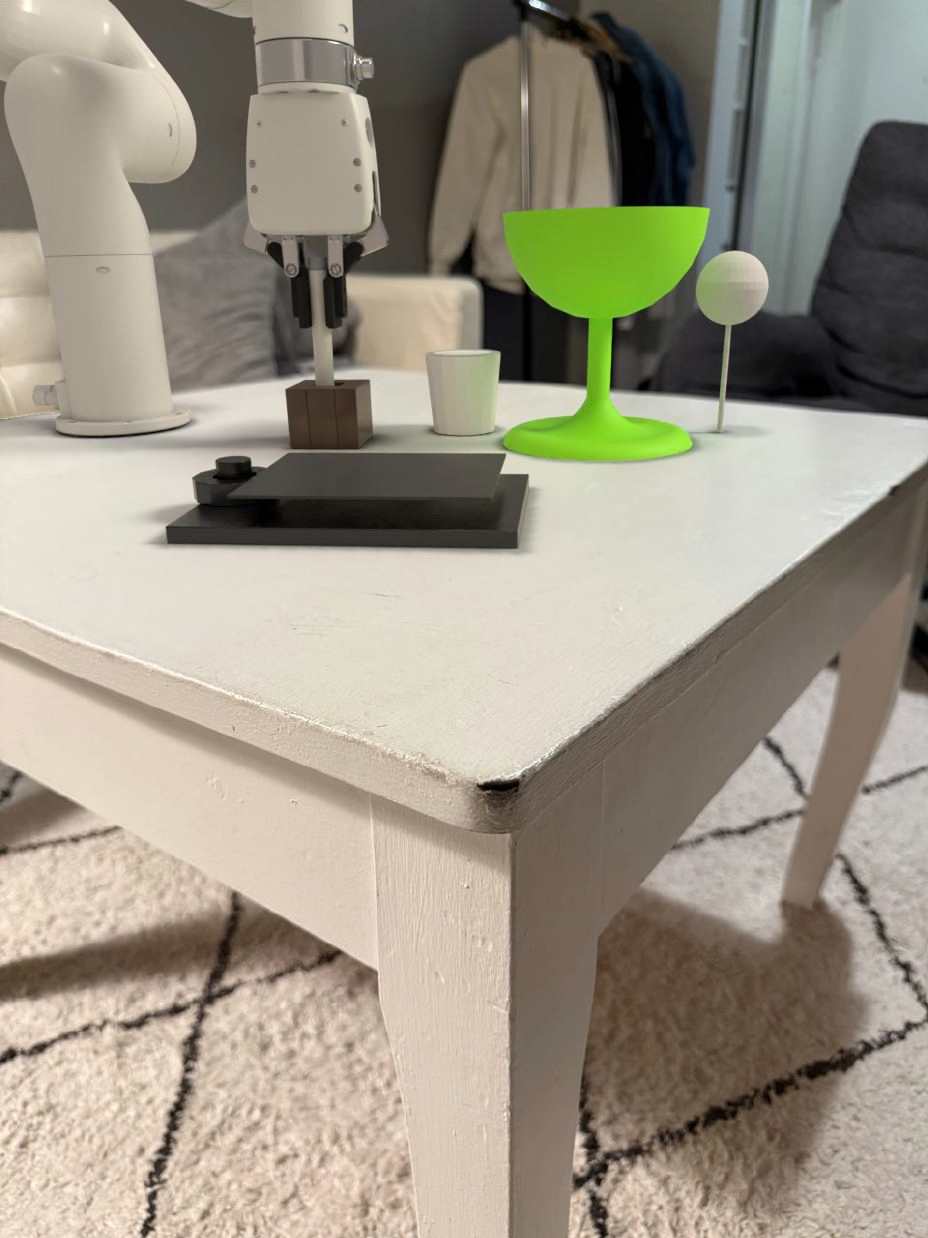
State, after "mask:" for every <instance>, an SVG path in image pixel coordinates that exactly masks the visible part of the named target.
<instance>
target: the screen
mask: <svg viewBox="0 0 928 1238" xmlns="http://www.w3.org/2000/svg"><path fill="white" fill-rule="evenodd" d="M506 457H507V453H504V452H503V453H502V452H501V453H500V452H499V453H498V452H491V453H490V452H485V453H484V452H467V453H466V452H455V453H454V452H287V453H285V454H284V455H283V456H282V457H280V458H278V459H277V460H275V461H274V462H273V463H271V464H270V465H268V466H267V467H265V468H266V469H264V470H263V471H261V472H260V473H258V474H257V475H256V476H254V477H253V478H251V479H250V480H248V481H247V482H246V483H244V484H243V485H241V486H240V487H238V488H237V489H236V490H234V491H233V492H231V493H230V494H228V495H227V496H228V498H233V499H342V500H450V501H492V498H493V495H494V491H495V488H496V485H497V482H498V479H499V476H500V474H502V471H503V466H504V464H505V461H506Z"/></svg>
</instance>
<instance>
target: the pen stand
mask: <svg viewBox="0 0 928 1238" xmlns="http://www.w3.org/2000/svg"><path fill="white" fill-rule="evenodd" d="M284 391H285V402H286V414H287V423H288V424H287V426H288V436H289V437H288V438H289V447H290V449H321V450H323V449H329V450H330V449H332V450H334V449H335V450H337V449H353V450H355V449H356V450H357V449H360V448H362V446H363V445H364V444H365V443H367V442H368V441H369V440H370V439H371V438H372V437H373V436H374V427H373V425H374V424H373V409H372V391H371V379H334V386H316V382H315V379H303V380H301V381H300V382H298V383H295V384H293V385H291V386H289V387H286V388H285V389H284Z"/></svg>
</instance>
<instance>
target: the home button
mask: <svg viewBox="0 0 928 1238" xmlns="http://www.w3.org/2000/svg"><path fill="white" fill-rule="evenodd" d="M214 464H215V469H216V473H217V479H218V480H237V479H245V478H249V477H253V472H252V466H253V465H252V458H251V457H250V456H248V455H247V456H246V455H227V456H223V457H218V458H216V459H215V461H214Z"/></svg>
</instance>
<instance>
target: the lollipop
mask: <svg viewBox="0 0 928 1238" xmlns="http://www.w3.org/2000/svg"><path fill="white" fill-rule="evenodd" d="M695 286H696V287H695V297H696V301H697V304H698V307H699V310H700V311H701V312H702V313H703V315H704V316H706V318H707V319H709V320H710V321H712V322H714V323H716V324H719V325H723V326H724V325H725V331H724V340H723V341H724V343H723V353H722V365H721V367H722V368H721V378H720V391H719V402H718V411H717V413H718V414H717V425H716V433H723V427H724V414H725V405H726V404H725V403H726V391H727V382H728V381H727V380H728V369H729V358H730V347H731V346H730V345H731V333H732V326H734V325H735V326H736V325H738V324H742V323H744V322H746V321H748V320H750V319H751V318H752V317H754V316H755V315H756V314H757V313H758V311H760V310H761V308H763V307H762V306H763V305H764V303H765V302H766V299H767V297H768V292H769V277H768V272H767V271H766V268H765V266H764V264H763V263H762V262H761V261H760V260H759V259H758V258H757V257H755V255H753V254H751V253H748V252H745V251H743V250H729V251H725V252H722V253H719V254H718V255H716V256H714V257H713V258H712V259H711V260H709V261H708V262H707V263H706V264H705V265H704V267H703V268H702V269H701V272H700V274H699V276H698V278H697V281H696V285H695Z"/></svg>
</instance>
